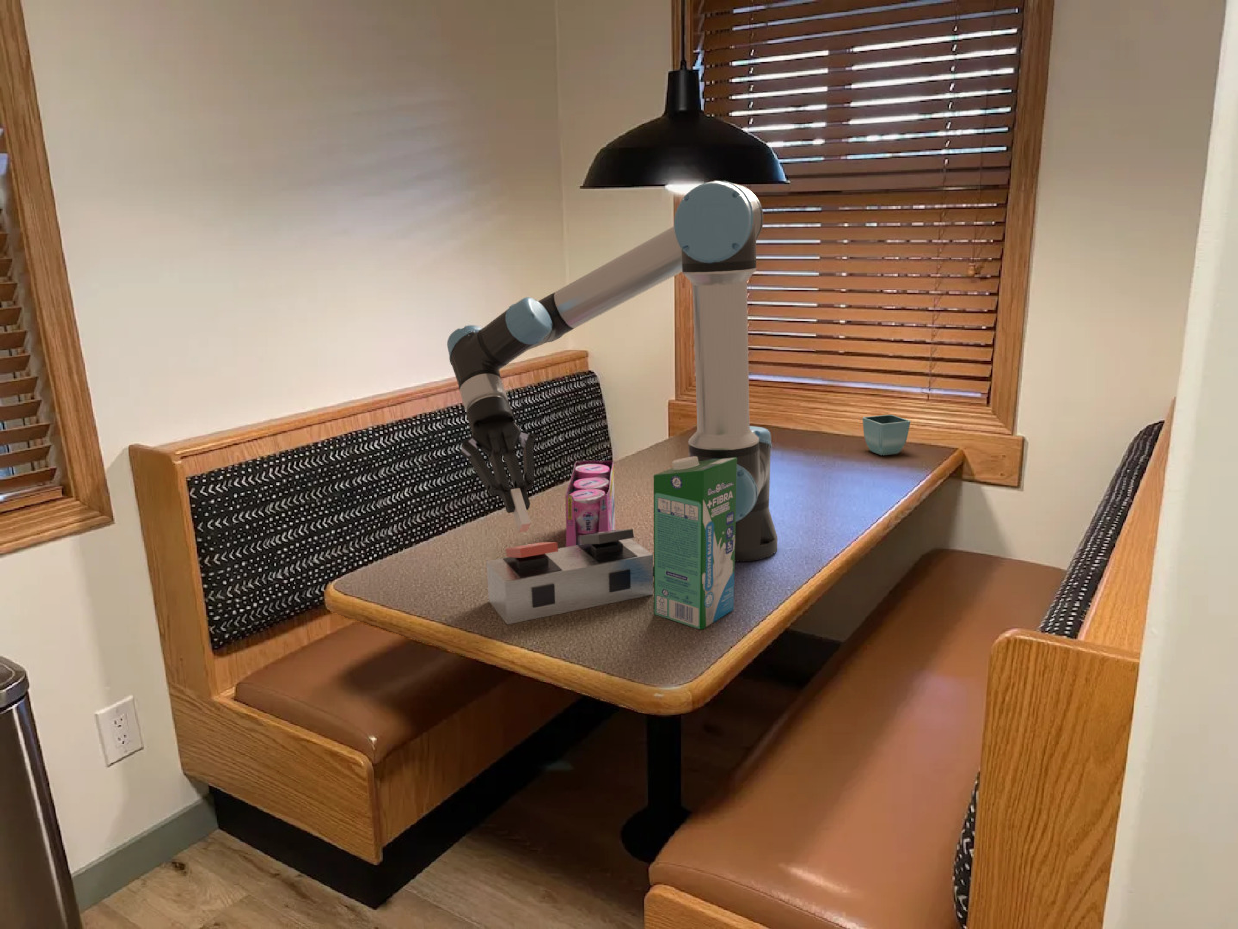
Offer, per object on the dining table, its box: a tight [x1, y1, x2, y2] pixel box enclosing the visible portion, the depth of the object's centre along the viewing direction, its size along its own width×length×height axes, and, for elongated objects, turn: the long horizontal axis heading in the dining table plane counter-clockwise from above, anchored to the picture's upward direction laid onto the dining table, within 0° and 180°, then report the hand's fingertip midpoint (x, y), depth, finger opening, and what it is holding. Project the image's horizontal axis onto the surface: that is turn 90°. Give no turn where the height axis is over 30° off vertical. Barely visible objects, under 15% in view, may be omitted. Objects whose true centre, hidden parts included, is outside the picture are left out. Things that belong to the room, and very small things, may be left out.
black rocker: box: [581, 528, 635, 544], centre depth 147 cm, size 6×8×2 cm
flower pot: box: [862, 414, 911, 456], centre depth 230 cm, size 9×9×9 cm
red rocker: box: [505, 541, 559, 558], centre depth 141 cm, size 6×8×2 cm
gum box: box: [565, 460, 616, 547], centre depth 168 cm, size 24×8×14 cm, turn 178°
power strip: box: [486, 538, 654, 625], centre depth 147 cm, size 32×10×8 cm, turn 115°
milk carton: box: [653, 456, 737, 631], centre depth 137 cm, size 9×9×25 cm
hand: (524, 527), depth 144 cm, fingers closed
